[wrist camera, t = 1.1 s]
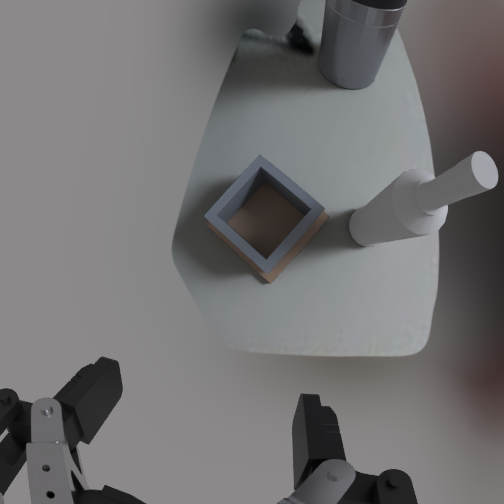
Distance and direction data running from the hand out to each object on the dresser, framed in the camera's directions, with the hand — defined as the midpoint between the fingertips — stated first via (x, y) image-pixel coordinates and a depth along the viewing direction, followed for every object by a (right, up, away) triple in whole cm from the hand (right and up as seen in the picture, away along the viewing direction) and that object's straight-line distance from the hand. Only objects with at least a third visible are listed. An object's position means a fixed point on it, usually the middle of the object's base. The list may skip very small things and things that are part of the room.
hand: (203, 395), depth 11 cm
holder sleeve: (+4, +10, +26) cm, 28 cm away
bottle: (+17, +9, +25) cm, 31 cm away
